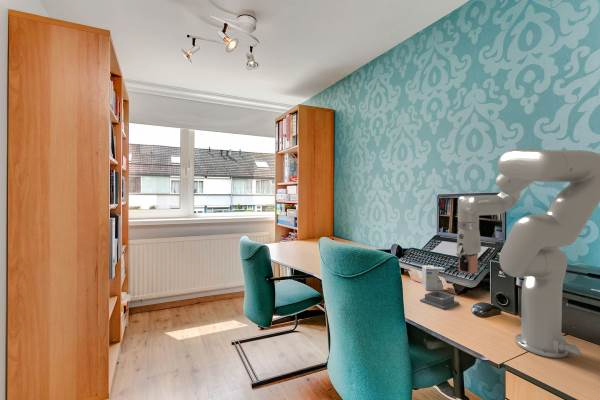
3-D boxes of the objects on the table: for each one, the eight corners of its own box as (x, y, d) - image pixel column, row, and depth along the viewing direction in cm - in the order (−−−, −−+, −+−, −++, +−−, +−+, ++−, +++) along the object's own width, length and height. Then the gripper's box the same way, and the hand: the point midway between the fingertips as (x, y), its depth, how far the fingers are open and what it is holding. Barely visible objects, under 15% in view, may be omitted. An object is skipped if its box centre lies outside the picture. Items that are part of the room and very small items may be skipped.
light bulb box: (443, 286, 148) (443, 264, 147) (449, 290, 141) (449, 268, 141) (421, 286, 149) (421, 264, 148) (425, 290, 142) (425, 268, 142)
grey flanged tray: (459, 303, 125) (459, 296, 125) (443, 309, 119) (443, 301, 119) (435, 296, 134) (435, 289, 134) (419, 301, 128) (419, 293, 128)
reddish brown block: (477, 272, 121) (477, 255, 121) (470, 274, 118) (470, 256, 118) (465, 269, 125) (465, 252, 125) (458, 271, 123) (458, 254, 122)
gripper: (465, 228, 114) (465, 275, 114) (488, 225, 122) (488, 268, 123) (447, 226, 120) (447, 271, 121) (470, 223, 129) (470, 264, 129)
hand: (468, 269), depth 122 cm, fingers closed on reddish brown block, 5 cm apart
